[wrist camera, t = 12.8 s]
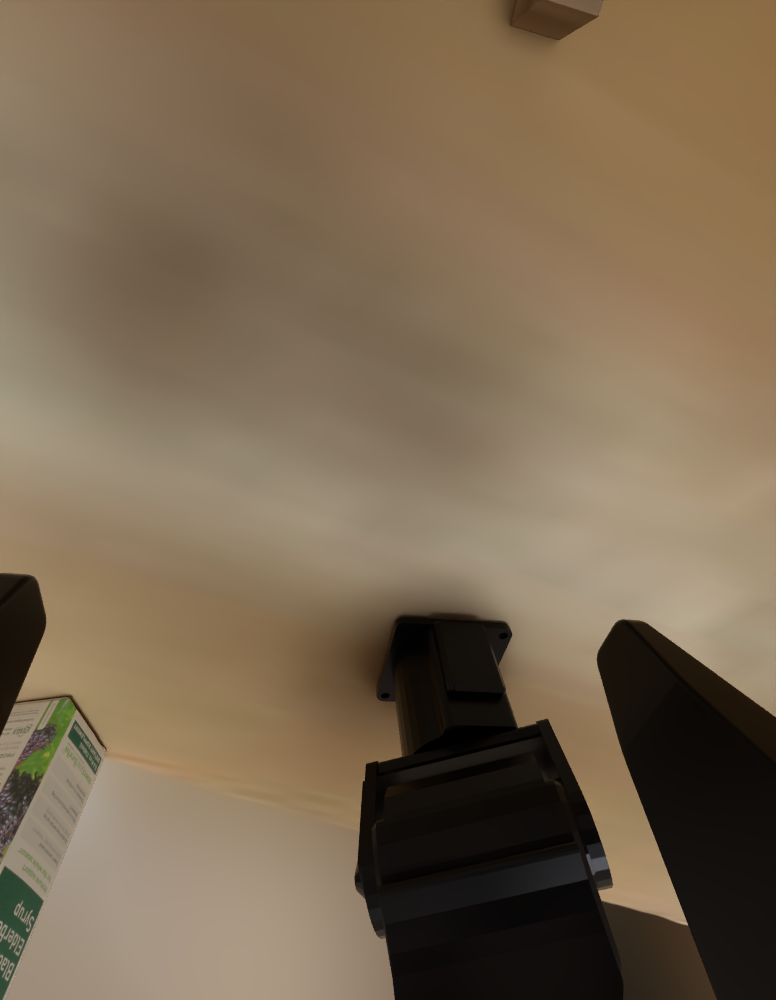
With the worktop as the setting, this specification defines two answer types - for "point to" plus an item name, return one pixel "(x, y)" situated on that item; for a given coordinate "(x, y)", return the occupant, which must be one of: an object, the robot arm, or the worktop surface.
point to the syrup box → (38, 812)
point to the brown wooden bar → (554, 15)
